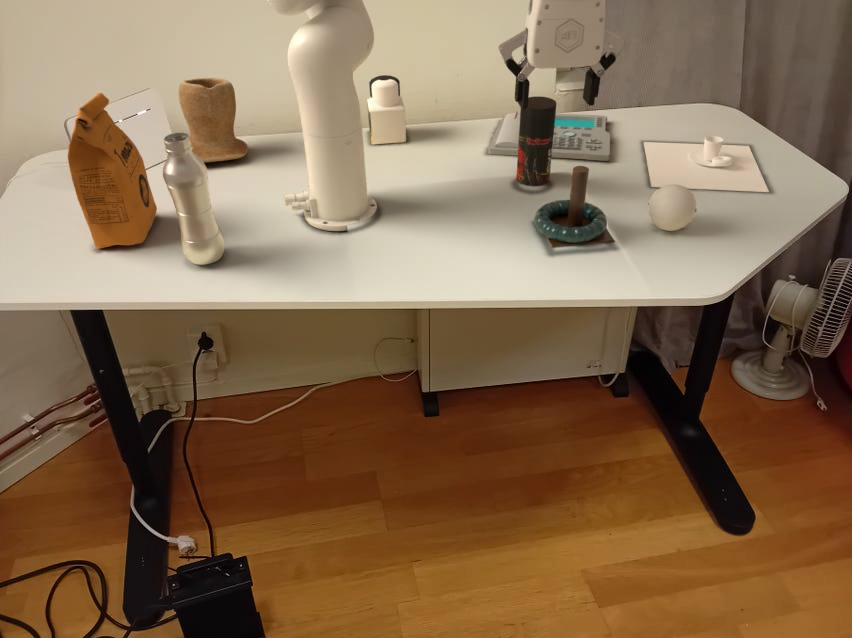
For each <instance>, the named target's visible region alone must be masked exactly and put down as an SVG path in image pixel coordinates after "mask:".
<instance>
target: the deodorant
mask: <svg viewBox="0 0 852 638" xmlns="http://www.w3.org/2000/svg"><path fill="white" fill-rule="evenodd" d="M519 113H520V127H519V143H518V155H517V161H516V176H515V177H516V181H517V183H519V184H521V185H522V186H527V187H541V186H545V185H546V184H548V183H549V182H550V178H551V168H552V167H551V166H552V158H553V157H552V147H553V136H554V125H555V114H557V101H556V100H555V99H554V98H551V97H547V96H540V95H539V96H529V97H528V108H527V109H526V110H522V109H521V108H520V112H519Z"/></svg>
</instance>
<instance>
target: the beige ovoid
mask: <svg viewBox="0 0 852 638" xmlns="http://www.w3.org/2000/svg"><path fill="white" fill-rule="evenodd" d="M655 190H656V191H655V192H654V193H652V195H651V197H650V200H649V202H648V203H647V212H648V216H649V218H650V220H651V222H652V223H653V224H654V226H656V227H657V228H658V229H660V230H663V231H672V232H673V231H678V230H681V229H682V228H685V227H686V226H687V225H689V223H690V222H692V221H693V219H694V216H695V214H696V213H697V202H696V198H695V195H694V194H693V193H692V191H691V190H690V189H688V188H686V187H684V186H681V185H677V184H671V185H666V186H663V187H659V188H658V189H657V188H655Z"/></svg>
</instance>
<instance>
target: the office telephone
mask: <svg viewBox="0 0 852 638" xmlns="http://www.w3.org/2000/svg"><path fill="white" fill-rule="evenodd" d="M607 122H608V116H606V115H599V114H598V115H597V114H580V113H579V114H578V113H556V114H555V125H554V136H553V147H552V158H557V159H558V158H559V159H574V160H587V161H589V160H590V161H607V162H608V161H609V160H610V155H611V133H610V132H608V131H607V130H606V124H607ZM519 127H520V112H518V111H516V112H510V113H507V114H506V115H503V116H502V118H501V119H500V122H499V124H498V126H497V128H496V130H495V132H494V134H493V137H492V139H491V141H490V143H489V145H488V148H487V153H488V154H489V155H501V156H502V155H503V156H518V143H519Z"/></svg>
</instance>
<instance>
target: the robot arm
mask: <svg viewBox="0 0 852 638" xmlns="http://www.w3.org/2000/svg"><path fill="white" fill-rule="evenodd" d="M265 1H266V2H267V4H268V5H269V6H270V8H271V9H273V10H274V11H275V12H277V13H278V14H280V15H283V16H288V17H289V16H290V17H292V16H296V15H299V14H302V13H304V12H305V13H306V16H307V18H308V19H309V20H307V21H306V22H304V23H303V24H302V25H301V26H300V27H299V28H298V29H297V30H296V31H295V33H294V34H293V36H292V38H291V39H290V42H289V45H288V48H287V66H288V70H289V74H290V78H291V81H292V85H293V87H294V91H295V95H296V100H297V104H298V109H299V116H300V124H301V130H302V138H303V144H304V153H305V160H306V167H307V174H308V181H309V184H308V190H303V192H302V193H285V194H284V202H285V206H286V207H291V208H292V209H291V210H292V211H301V210H303V214H304V220H305V221H306V222H307V223H308V224H309V225H310V226H312V227H313V228H316V229H319V230H323V231H328V232H329V231H330V232H344V231H345V232H347V231H349V230H348V229H349V228H348V226H351V225H356V224H358V223H361V222H364V221H366V220H368V219H369V218H371V217H372V216H373V215H374V214H375V213H376V212H377V209H378V205H377V202H376V200H375V199H374V198H373V197H371V196H369V195H368V185H367V184H368V183H367V173H366V171H367V170H366V161H365V160H366V159H365V147H364V135H363V134H364V133H363V122H362V113H361V112H362V111H361V105H360V99H359V96H358V92H357V90H356V86H355V82H354V73H355V71H356V70H357V69H358V68H359V67H361V65H362V64H363V63H364V62H365V61H366V60H367V59H368V57H369V56H370V54H371V53H372V50H373V47H374V43H375V32H374V27H373V24H372V21H371V18H370V15H369V13H368V10H367V8H366V6H365V3H364V1H363V0H265ZM605 25H606V0H529V3H528V8H527V13H526V20H525V25H524V30H523V31H520V32H519V33H518V34H515V35H514V36H513V37H511V38H509V39H507V40H505V41H503V42H502V43H501V44H499V45H498V47H497V48H498V51H499V54H500V56H501V58H502V60H503V63H504V65H505V66H506V68H507V69H508V70H509V71H510V72H511V74H513V75H514V76H515V84H514V85H515V86H514V101H515V102H516V103H517V104H518V105H519V108H520V110H521V109H522V110H526V109H527V108H528V98H529V97H530V96H529V95H530V84H531V83H530V82H531V81H530V80H529V79H528V78H529V76H530V75H531V74H532V73H533V71H534V70H535V69H543V70H544V69H545V70H546V69H563V68H564V69H565V68H582V67H589V69H588V70H587V71H586V72H585V77H584V83H583V84H584V85H583V93H582V99H583V100H584V102H585V103H586V104H587V105H588V106H590V107H592V106H594V105H595V101H596V98H598V95H599V93H600V92H599V91H600V84H601V78H602V77H603V76H604V75H605V74H606V71H607V70H608V69H610V67H611V66H613V64H614V63H615V62H616V60H617V57H618V56H619V54H620V53H621V52H622V50H623V48H624V47H625V44H626V41H624V40H623V38H621V37H619V36H617V35H616V34H614V33H612V32H610V31H609V30H607V29H605V27H606V26H605ZM604 43H607V44H608V45H609V47H608V48H607V51H606V52H604V54H603V49H604ZM520 47H522V54H523V57H522V58H521V59H520V61H519V62H518V63H517V62H516V61H515V59H514V57H513V53H514V51H515V50H517V49H519V48H520ZM371 205H372V206H371Z"/></svg>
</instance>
